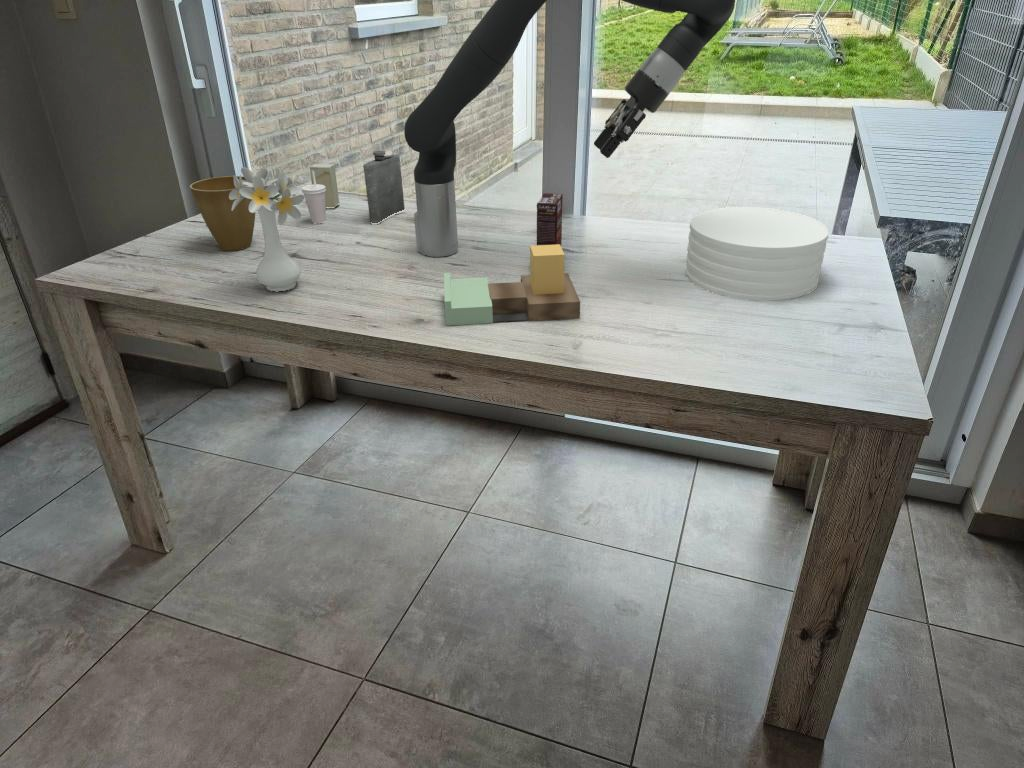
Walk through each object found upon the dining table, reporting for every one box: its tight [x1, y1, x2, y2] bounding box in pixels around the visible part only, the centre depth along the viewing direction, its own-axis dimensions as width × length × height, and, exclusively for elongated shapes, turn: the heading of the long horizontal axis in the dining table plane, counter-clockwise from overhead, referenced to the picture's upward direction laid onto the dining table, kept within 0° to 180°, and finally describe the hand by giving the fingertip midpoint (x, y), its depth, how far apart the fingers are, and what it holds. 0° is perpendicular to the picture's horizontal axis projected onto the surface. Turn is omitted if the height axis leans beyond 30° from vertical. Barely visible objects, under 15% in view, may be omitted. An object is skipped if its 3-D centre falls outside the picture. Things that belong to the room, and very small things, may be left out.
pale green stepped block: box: [443, 272, 494, 326], centre depth 141 cm, size 9×15×5 cm, turn 5°
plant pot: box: [189, 175, 256, 252], centre depth 174 cm, size 15×15×16 cm
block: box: [529, 244, 566, 295], centre depth 139 cm, size 6×6×8 cm
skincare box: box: [309, 163, 340, 207], centre depth 204 cm, size 6×4×12 cm
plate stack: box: [684, 206, 830, 301], centre depth 152 cm, size 28×28×12 cm
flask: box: [362, 150, 405, 223], centre depth 193 cm, size 4×14×18 cm, turn 153°
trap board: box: [488, 272, 581, 324], centre depth 142 cm, size 17×15×4 cm
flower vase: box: [229, 167, 305, 293], centre depth 147 cm, size 13×18×25 cm
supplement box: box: [536, 192, 564, 246], centre depth 157 cm, size 9×5×16 cm, turn 168°
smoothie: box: [301, 171, 327, 224], centre depth 191 cm, size 6×6×14 cm
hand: (600, 151), depth 140 cm, fingers open, 8 cm apart
